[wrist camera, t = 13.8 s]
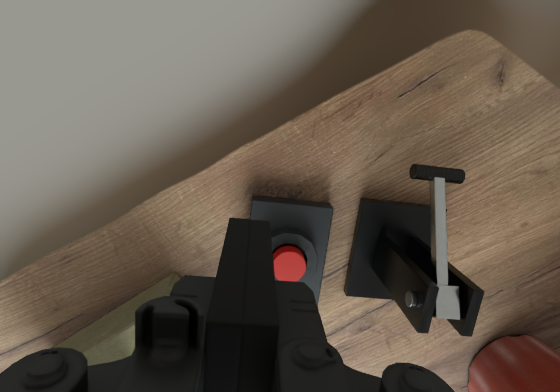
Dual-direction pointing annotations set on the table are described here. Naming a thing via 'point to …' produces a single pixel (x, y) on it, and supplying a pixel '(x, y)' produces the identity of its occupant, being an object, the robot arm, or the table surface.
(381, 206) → the bracket
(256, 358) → the robot arm
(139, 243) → the table surface
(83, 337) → the tissue box
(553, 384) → the flower pot
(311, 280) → the button block
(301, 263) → the button
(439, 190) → the lever
